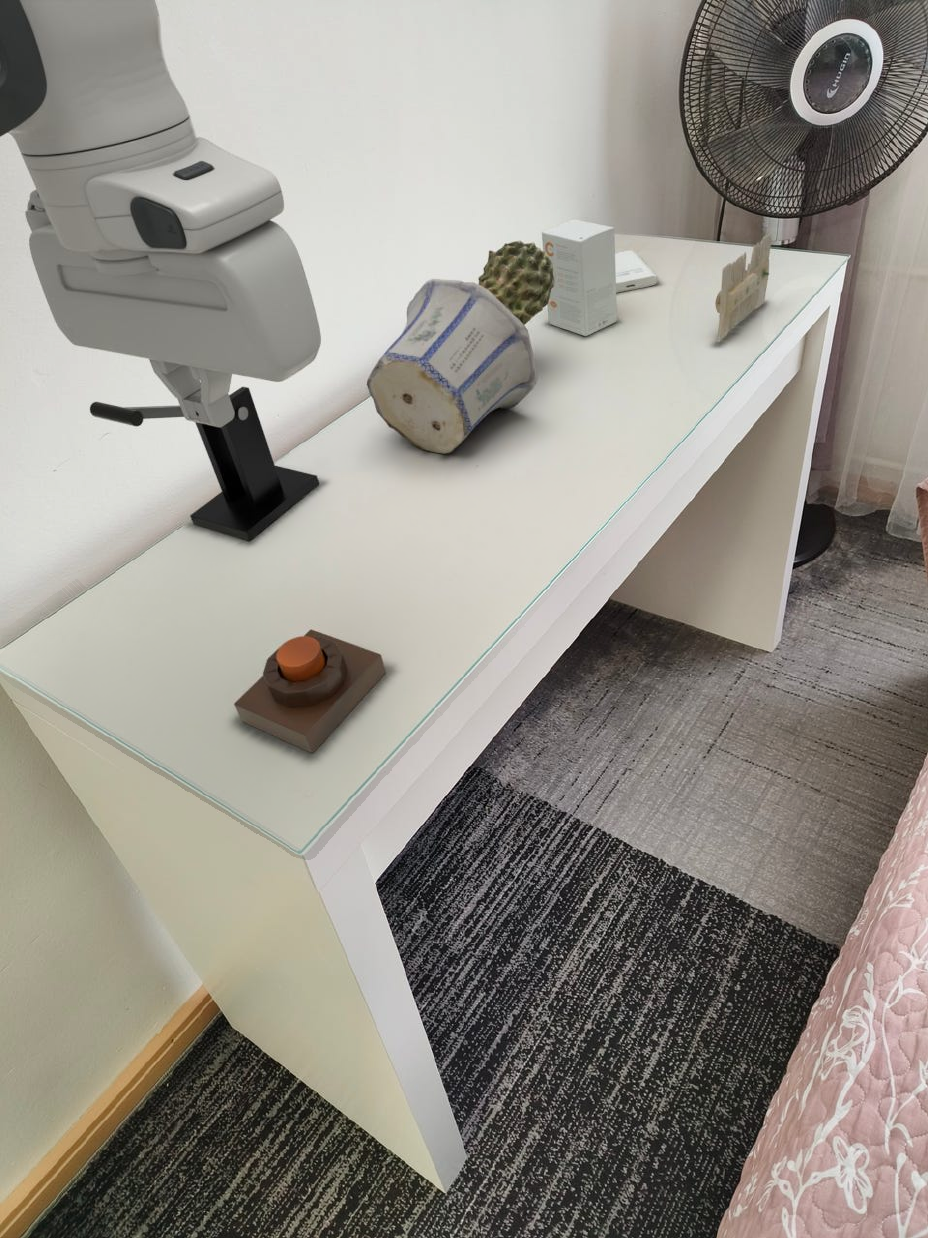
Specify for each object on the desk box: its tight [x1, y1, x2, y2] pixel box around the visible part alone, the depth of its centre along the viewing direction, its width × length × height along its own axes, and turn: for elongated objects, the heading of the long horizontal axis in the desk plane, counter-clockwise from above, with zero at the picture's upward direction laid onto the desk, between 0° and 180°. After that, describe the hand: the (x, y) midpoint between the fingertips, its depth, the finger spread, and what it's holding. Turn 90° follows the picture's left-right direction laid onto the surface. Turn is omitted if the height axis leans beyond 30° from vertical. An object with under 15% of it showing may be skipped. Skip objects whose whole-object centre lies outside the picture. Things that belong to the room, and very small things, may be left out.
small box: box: [541, 218, 618, 337], centre depth 118 cm, size 8×6×13 cm
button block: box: [233, 629, 387, 754], centre depth 71 cm, size 10×8×4 cm
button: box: [276, 635, 325, 682], centre depth 69 cm, size 4×4×2 cm
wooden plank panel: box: [714, 233, 772, 343], centre depth 112 cm, size 15×2×10 cm, turn 144°
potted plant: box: [366, 240, 555, 455], centre depth 102 cm, size 18×18×30 cm
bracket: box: [189, 386, 320, 542], centre depth 93 cm, size 12×9×14 cm
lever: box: [89, 401, 185, 427], centre depth 85 cm, size 15×6×2 cm, turn 147°
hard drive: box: [615, 249, 658, 294], centre depth 133 cm, size 2×8×12 cm
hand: (211, 420), depth 55 cm, fingers closed
